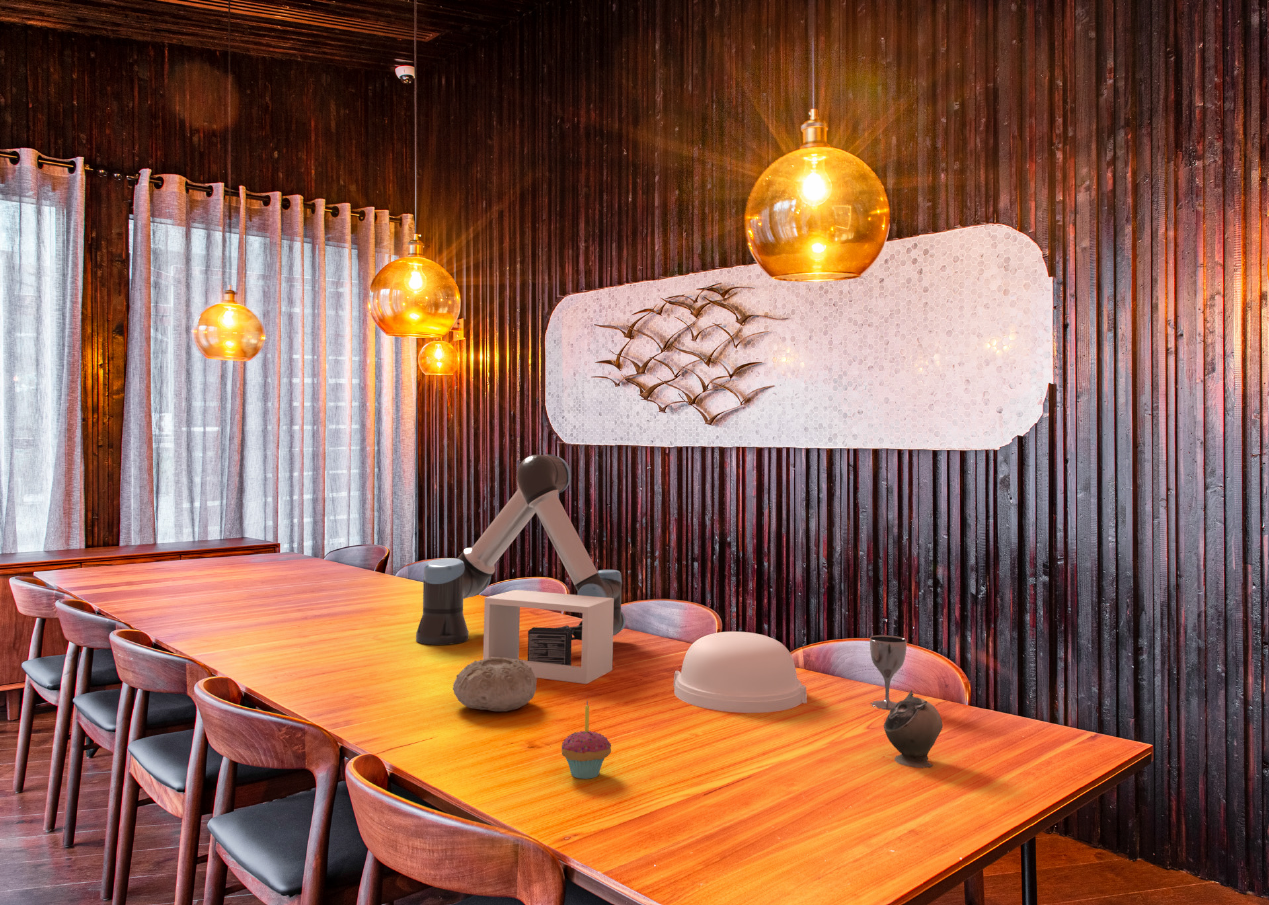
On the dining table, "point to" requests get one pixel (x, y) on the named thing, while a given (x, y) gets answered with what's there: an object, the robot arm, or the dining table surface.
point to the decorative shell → (495, 684)
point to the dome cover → (739, 674)
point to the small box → (550, 645)
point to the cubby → (595, 617)
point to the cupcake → (585, 751)
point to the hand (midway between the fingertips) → (561, 643)
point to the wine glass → (887, 661)
